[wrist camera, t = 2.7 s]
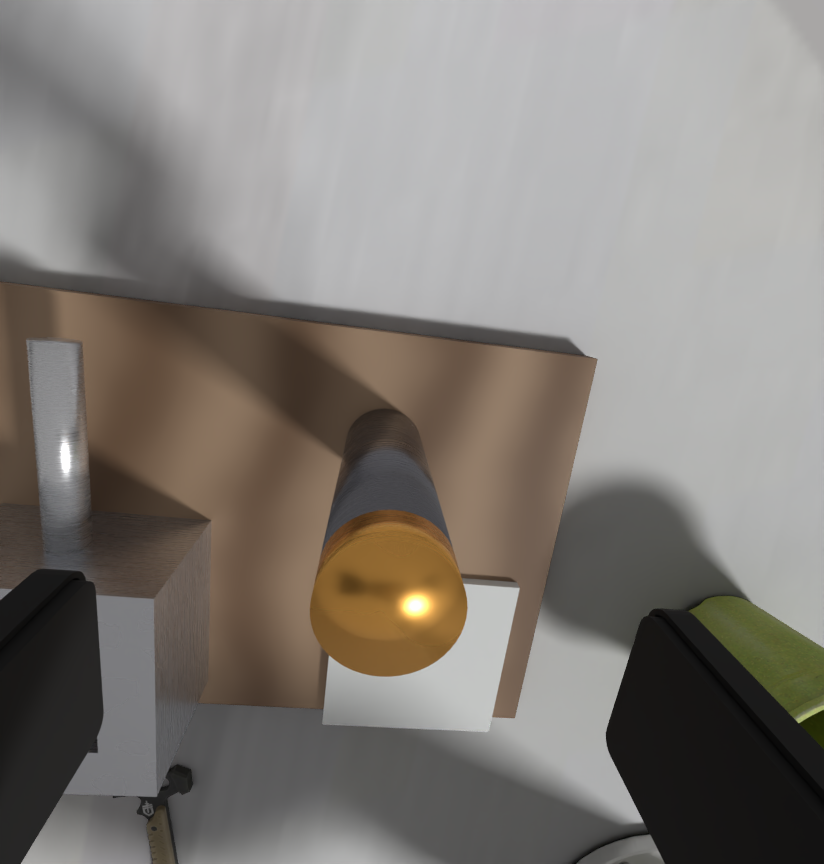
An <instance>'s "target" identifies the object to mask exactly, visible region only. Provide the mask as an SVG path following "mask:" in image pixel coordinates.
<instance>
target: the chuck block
mask: <svg viewBox="0 0 824 864" xmlns="http://www.w3.org/2000/svg"><path fill="white" fill-rule="evenodd" d="M26 346H27V358H28V370H29V382H30V394H31V407H32V419H33V431H34V443H35V455H36V467H37V479H38V492H39V504H40V506H34V505H22V504H10V503H2V504H0V600H1V599H2V598H3V597H4V596H6V595H7V594H8V593H9V592H10V591H12V590H13V589H14V588H15V587H16V586H17V585H19V584H20V583H21V582H22V581H23V580H24V579H26V578H27V577H28V576H29V575H30V574H31V573H33V572H34V571H36V570H38V569H58V570H73V571H80V572H82V573H83V574H84V576H85V578H86V581H91V582H93V583H94V585H95V588H96V600H97V616H98V631H99V647H100V662H101V678H102V693H103V708H104V716H103V722H102V725H101V729H100V731H99V734H98V736H97V738H96V740H95V742H94V743H93V745H92V747H91V748H90V750H89V752H88V753H87V755H86V757H85V758H84V760H83V761H82V763H81V765H80V766H79V768H78V770H77V771H76V773H75V775H74V776H73V778H72V780H71V781H70V783H69V785H68V786H67V788H66V790H65V791H64V793H63V794H75V795H109V796H144V797H157V795H158V793H159V791H160V788H161V786H162V784H163V781H164V779H165V777H166V775H167V772H168V770H169V768H170V766H171V763H172V761H173V759H174V756H175V754H176V752H177V750H178V747H179V745H180V743H181V741H182V738H183V736H184V734H185V731H186V729H187V727H188V725H189V722H190V720H191V718H192V716H193V713H194V711H195V709H196V707H197V704H198V702H199V700H200V697H201V695H202V693H203V691H204V688H205V686H206V684H207V682H208V667H209V618H210V569H211V520H200V519H188V518H176V517H164V516H152V515H141V514H129V513H117V512H105V511H93V510H91V494H90V475H89V455H88V436H87V416H86V397H85V378H84V358H83V342H82V341H80V340H75V339H67V338H54V337H35V338H27V339H26Z"/></svg>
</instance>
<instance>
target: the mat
mask: <svg viewBox="0 0 824 864" xmlns="http://www.w3.org/2000/svg"><path fill="white" fill-rule="evenodd" d="M462 581H463V584H464V588H465V591H466V596H467V607H468V609H467V618H466V621H465V625H464V628H463V630H462V633H461V635H460V636H459V638H458V640H457V641H456V643H455V644H454V645H453V647H452V648H451V649H450V650H449V651H448V652H447V653H446V654H445V655H444V656H443V657H442V658H440V659H439V660H438V661H436V662H435V663H433V664H431V665H430V666H428V667H426V668H424V669H421V670H419V671H416V672H413V673H410V674H406V675H401V676H392V677H379V676H370V675H366V674H362V673H359V672H356V671H353V670H351V669H349V668H347V667H344V666H343V665H341V664H340V663H338V662H337V661H335V660H334V659H333V658H332V657H330V656H329V660H328V670H327V680H326V690H325V700H324V710H323V720H322V725H342V726H364V727H387V728H409V729H431V730H454V731H476V732H489V729H490V724H491V719H492V715H493V710H494V705H495V701H496V696H497V692H498V687H499V682H500V678H501V673H502V668H503V664H504V659H505V654H506V650H507V645H508V640H509V636H510V631H511V626H512V622H513V617H514V612H515V608H516V603H517V598H518V594H519V589H520V588H519V586H518V583H517V582H506V581H493V580H480V579H467V578H462Z"/></svg>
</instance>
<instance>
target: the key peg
mask: <svg viewBox="0 0 824 864" xmlns="http://www.w3.org/2000/svg"><path fill="white" fill-rule="evenodd" d="M467 609H468V607H467V596H466V591H465V588H464V584H463V581H462V577H461V574H460V571H459V567H458V564H457V560H456V557H455V553H454V550H453V547H452V543H451V540H450V536H449V533H448V530H447V526H446V523H445V519H444V516H443V513H442V509H441V506H440V502H439V499H438V496H437V492H436V489H435V485H434V482H433V478H432V475H431V472H430V468H429V465H428V461H427V458H426V455H425V451H424V448H423V444H422V441H421V438H420V434H419V431H418V429H417V427H416V426H415V424H414V423H413V422H412V420H411V419H410V418H408V417H407V416H406V415H404V414H403V413H401V412H399V411H396V410H393V409H385V408H382V409H375V410H371V411H368V412H366V413H364V414H363V415H361V416H360V417H359V418H358V419H356V420H355V422H354V423H353V424H352V426H351V427H350V429H349V431H348V434H347V438H346V442H345V447H344V451H343V456H342V461H341V465H340V470H339V474H338V479H337V483H336V488H335V492H334V497H333V501H332V506H331V510H330V515H329V519H328V524H327V528H326V533H325V537H324V542H323V547H322V551H321V556H320V560H319V565H318V569H317V574H316V578H315V583H314V587H313V592H312V596H311V602H310V621H311V626H312V629H313V632H314V634H315V637H316V639H317V641H318V642H319V644H320V645H321V647H322V648H323V649H324V650H325V651H326V653H327V654H328V655H329V656H330V657H332V658H333V659H334V660H335V661H337V662H338V663H340V664H341V665H343V666H344V667H347V668H349V669H351V670H353V671H356V672H359V673H362V674H366V675H370V676H379V677H392V676H401V675H406V674H410V673H413V672H416V671H419V670H421V669H424V668H426V667H428V666H430V665H431V664H433V663H435V662H436V661H438V660H439V659H440V658H442V657H443V656H444V655H445V654H446V653H447V652H448V651H449V650H450V649H451V648H452V647H453V645H454V644H455V643H456V641H457V640H458V638H459V636H460V635H461V633H462V630H463V628H464V625H465V621H466V618H467Z"/></svg>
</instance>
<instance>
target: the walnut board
mask: <svg viewBox="0 0 824 864" xmlns="http://www.w3.org/2000/svg"><path fill="white" fill-rule="evenodd" d="M35 337H54V338H67V339H75V340H80V341H82V342H83V358H84V378H85V397H86V416H87V436H88V455H89V475H90V494H91V510H93V511H105V512H117V513H129V514H141V515H152V516H164V517H176V518H188V519H200V520H211V569H210V618H209V667H208V682H207V684H206V686H205V688H204V691H203V693H202V695H201V697H200V700H199V702H198V703H207V704H228V705H249V706H270V707H290V708H311V709H324V700H325V690H326V680H327V670H328V660H329V655H328V654H327V653H326V651H325V650H324V649H323V648H322V647H321V645H320V644H319V642H318V641H317V639H316V637H315V634H314V632H313V629H312V626H311V621H310V602H311V596H312V592H313V587H314V583H315V578H316V574H317V569H318V565H319V560H320V556H321V551H322V547H323V542H324V537H325V533H326V528H327V524H328V519H329V515H330V510H331V506H332V501H333V497H334V492H335V488H336V483H337V479H338V474H339V470H340V465H341V461H342V456H343V451H344V447H345V442H346V438H347V434H348V431H349V429H350V427H351V426H352V424H353V423H354V422H355V420H356V419H358V418H359V417H360V416H361V415H363V414H364V413H366V412H368V411H371V410H375V409H382V408H385V409H393V410H396V411H399V412H401V413H403V414H404V415H406V416H407V417H408V418H410V419H411V420H412V422H413V423H414V424H415V426H416V427H417V429H418V431H419V434H420V438H421V441H422V444H423V448H424V451H425V455H426V458H427V461H428V465H429V468H430V472H431V475H432V478H433V482H434V485H435V489H436V492H437V496H438V499H439V502H440V506H441V509H442V513H443V516H444V519H445V523H446V526H447V530H448V533H449V536H450V540H451V543H452V547H453V550H454V553H455V557H456V560H457V564H458V567H459V571H460V574H461V577H462V578H467V579H480V580H493V581H506V582H517V583H518V586H519V588H520V589H519V594H518V598H517V603H516V608H515V612H514V617H513V622H512V626H511V631H510V636H509V640H508V645H507V650H506V654H505V659H504V664H503V668H502V673H501V678H500V682H499V687H498V692H497V696H496V701H495V705H494V710H493V715H492V717H499V718H515V715H516V710H517V706H518V702H519V697H520V693H521V689H522V684H523V680H524V676H525V671H526V667H527V663H528V658H529V654H530V650H531V645H532V641H533V637H534V632H535V628H536V624H537V619H538V615H539V611H540V606H541V602H542V598H543V593H544V589H545V585H546V580H547V576H548V572H549V567H550V563H551V559H552V554H553V550H554V546H555V541H556V537H557V533H558V528H559V524H560V520H561V515H562V511H563V507H564V502H565V498H566V494H567V489H568V485H569V481H570V476H571V472H572V468H573V463H574V459H575V455H576V450H577V446H578V442H579V437H580V433H581V429H582V424H583V420H584V416H585V411H586V407H587V403H588V398H589V394H590V390H591V385H592V381H593V377H594V372H595V368H596V364H597V359H596V358H592V357H589V356H584V355H576V354H568V353H560V352H553V351H545V350H537V349H529V348H521V347H513V346H505V345H497V344H490V343H482V342H474V341H466V340H458V339H450V338H442V337H434V336H426V335H419V334H411V333H403V332H395V331H387V330H379V329H371V328H363V327H356V326H348V325H340V324H332V323H324V322H316V321H308V320H300V319H292V318H285V317H277V316H269V315H261V314H253V313H245V312H237V311H229V310H222V309H214V308H206V307H198V306H190V305H182V304H174V303H166V302H158V301H151V300H143V299H135V298H127V297H119V296H111V295H103V294H95V293H88V292H80V291H72V290H64V289H56V288H48V287H40V286H32V285H24V284H17V283H9V282H1V281H0V504H2V503H10V504H22V505H34V506H40V504H39V492H38V479H37V467H36V455H35V443H34V431H33V419H32V407H31V394H30V382H29V370H28V358H27V346H26V339H27V338H35Z"/></svg>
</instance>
